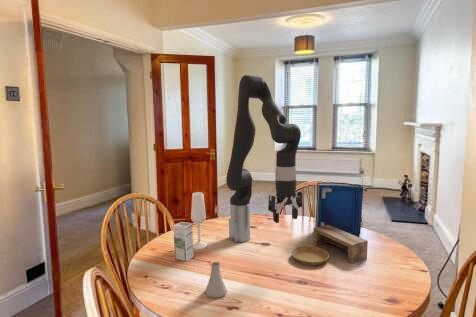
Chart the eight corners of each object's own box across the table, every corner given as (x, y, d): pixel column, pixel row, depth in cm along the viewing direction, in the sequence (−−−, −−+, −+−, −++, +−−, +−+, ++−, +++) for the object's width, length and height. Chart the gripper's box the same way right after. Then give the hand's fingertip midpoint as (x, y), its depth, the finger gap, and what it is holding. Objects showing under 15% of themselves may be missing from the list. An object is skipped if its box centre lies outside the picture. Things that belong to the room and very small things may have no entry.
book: (359, 231, 155) (360, 182, 152) (363, 236, 148) (365, 185, 145) (314, 230, 157) (315, 181, 154) (317, 235, 150) (317, 184, 147)
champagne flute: (189, 247, 138) (187, 194, 135) (196, 241, 144) (194, 191, 141) (202, 249, 135) (200, 195, 132) (209, 243, 142) (208, 192, 139)
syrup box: (194, 256, 129) (193, 222, 127) (186, 262, 123) (184, 227, 122) (182, 254, 131) (181, 220, 129) (174, 259, 126) (172, 225, 124)
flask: (205, 287, 105) (204, 259, 103) (226, 286, 105) (226, 258, 104) (204, 299, 97) (203, 269, 96) (227, 298, 98) (227, 268, 97)
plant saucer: (322, 271, 115) (322, 265, 114) (285, 262, 122) (285, 256, 122) (333, 256, 127) (333, 250, 127) (299, 249, 135) (299, 243, 134)
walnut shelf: (351, 263, 120) (352, 244, 119) (313, 243, 140) (313, 227, 139) (366, 258, 124) (367, 240, 123) (327, 240, 144) (327, 224, 143)
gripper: (294, 174, 121) (294, 215, 123) (264, 178, 114) (264, 220, 116) (307, 177, 115) (306, 220, 117) (276, 181, 108) (276, 226, 110)
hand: (285, 220), depth 116 cm, fingers open, 8 cm apart
